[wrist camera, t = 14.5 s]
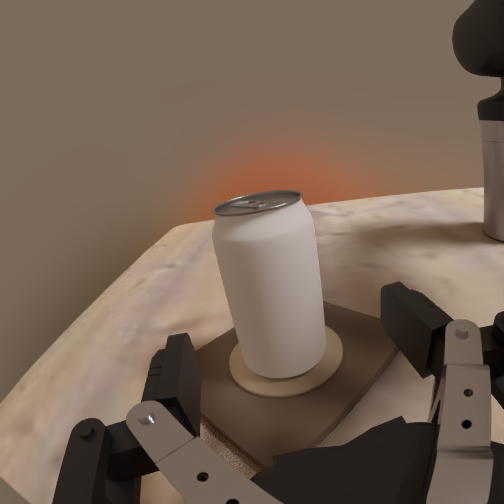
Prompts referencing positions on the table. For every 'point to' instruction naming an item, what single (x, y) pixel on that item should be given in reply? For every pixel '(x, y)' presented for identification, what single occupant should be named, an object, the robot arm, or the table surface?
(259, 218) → the can
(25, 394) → the table surface
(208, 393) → the rest board
